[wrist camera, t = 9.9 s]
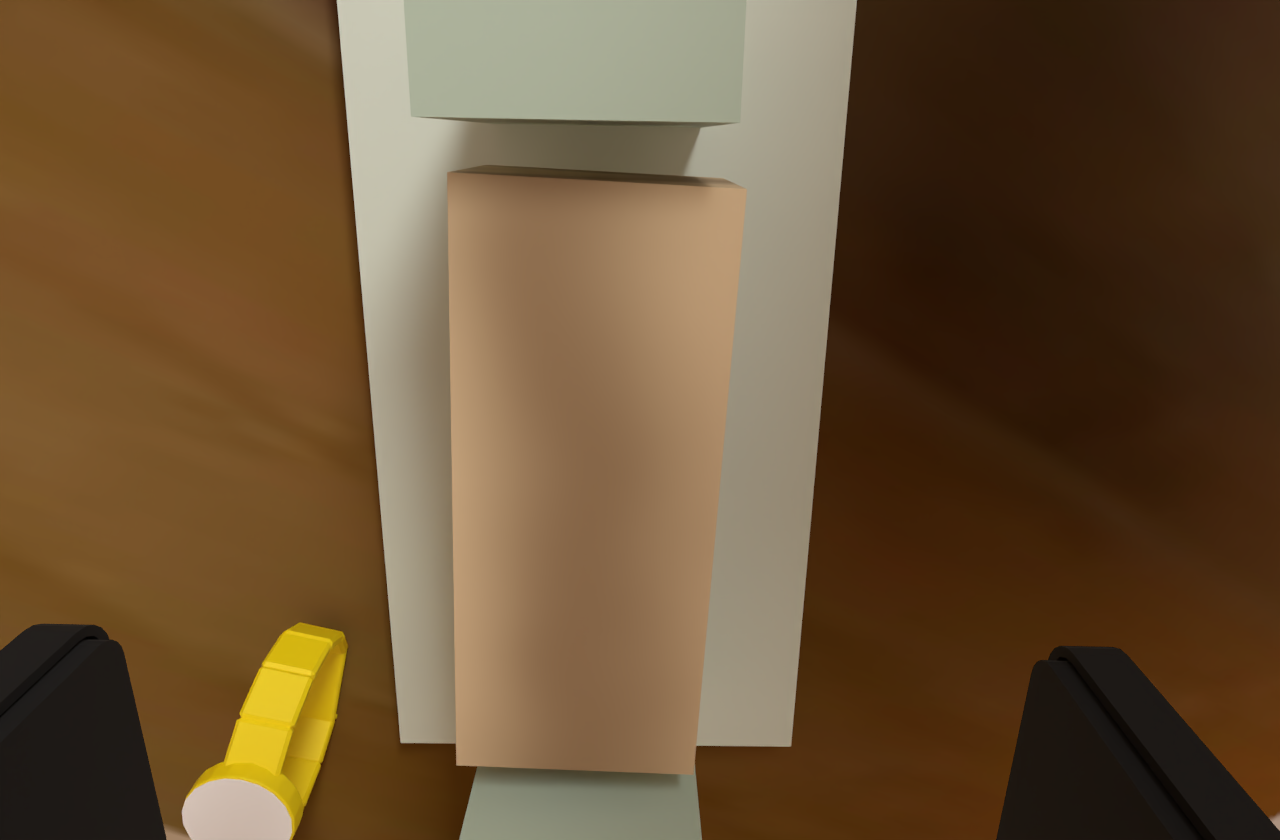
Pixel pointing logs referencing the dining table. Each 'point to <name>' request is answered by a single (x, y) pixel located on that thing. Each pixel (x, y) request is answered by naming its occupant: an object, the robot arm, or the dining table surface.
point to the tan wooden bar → (586, 459)
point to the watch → (273, 743)
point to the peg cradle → (763, 333)
